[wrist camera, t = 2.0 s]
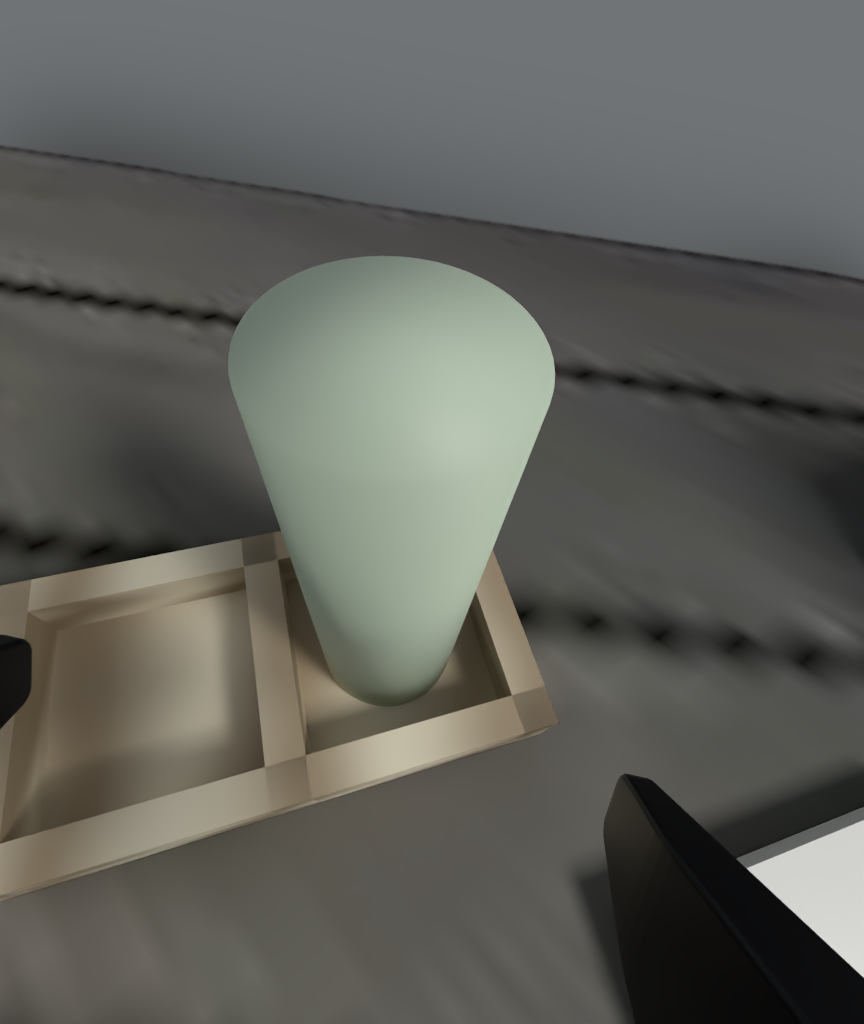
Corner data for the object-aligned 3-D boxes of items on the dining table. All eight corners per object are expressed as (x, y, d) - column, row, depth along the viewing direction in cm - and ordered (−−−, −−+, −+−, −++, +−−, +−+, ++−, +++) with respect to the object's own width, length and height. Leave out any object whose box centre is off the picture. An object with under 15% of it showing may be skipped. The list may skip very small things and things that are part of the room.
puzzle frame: (1, 901, 15) (-62, 914, 13) (34, 613, 19) (-8, 587, 17) (539, 734, 19) (558, 722, 17) (463, 524, 23) (471, 493, 21)
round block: (336, 722, 18) (244, 516, 6) (315, 597, 20) (216, 269, 8) (466, 686, 19) (610, 448, 7) (431, 571, 21) (492, 245, 9)
